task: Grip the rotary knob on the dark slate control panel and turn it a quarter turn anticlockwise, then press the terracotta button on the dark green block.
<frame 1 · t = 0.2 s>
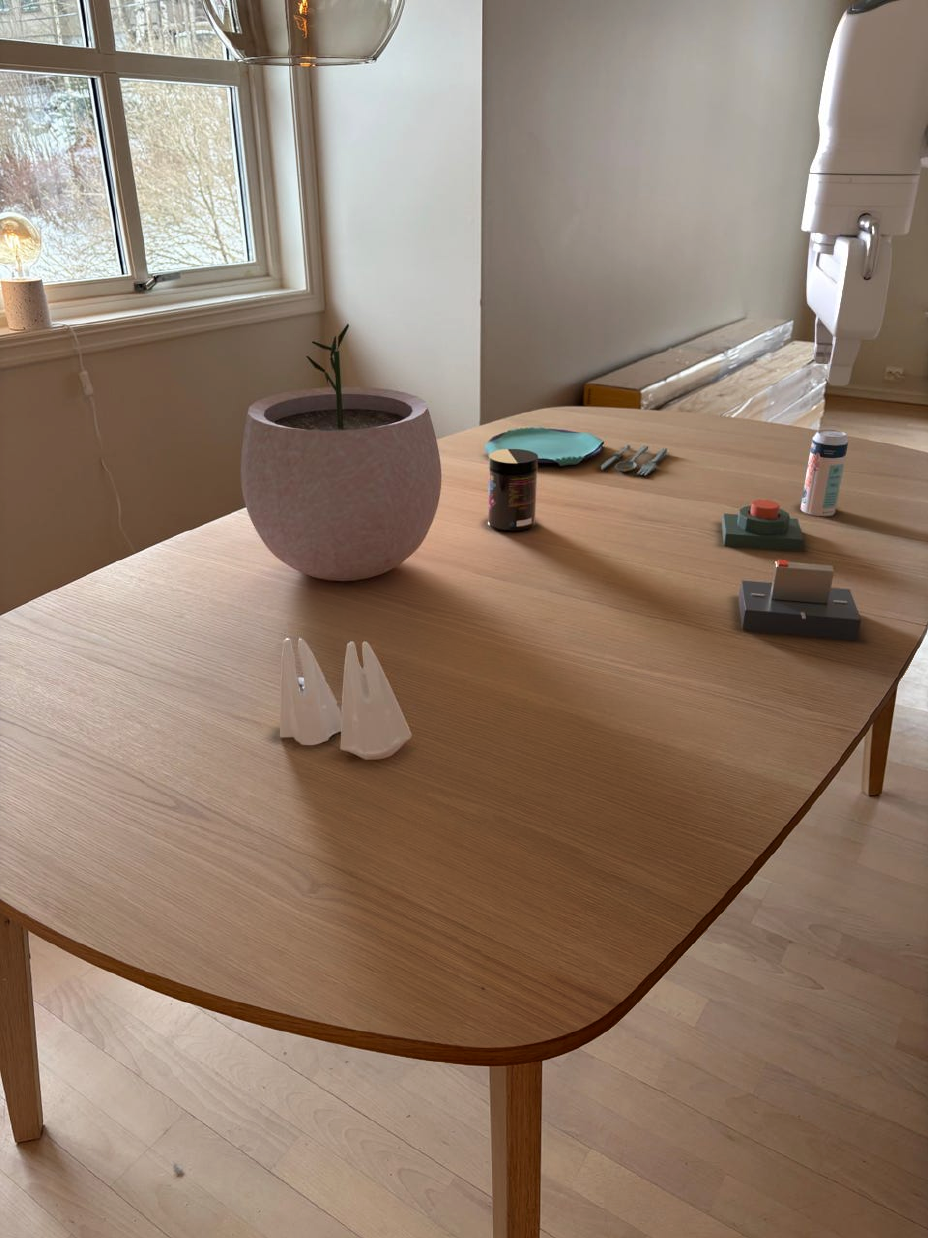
hand: (829, 372, 88), 29 cm above the table, tool pointing down, fingers open, 8 cm apart
beer can: (816, 514, 139), on the table
shaker set: (345, 748, 85), on the table
control panel: (794, 623, 107), on the table
supplement container: (511, 528, 134), on the table
button block: (760, 541, 130), on the table
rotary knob: (801, 581, 105), point 5 cm above the table, hinge at 0.0°
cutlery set: (571, 459, 164), on the table
plant pot: (347, 571, 121), on the table
button: (764, 510, 128), point 4 cm above the table, slide at 0.1 cm
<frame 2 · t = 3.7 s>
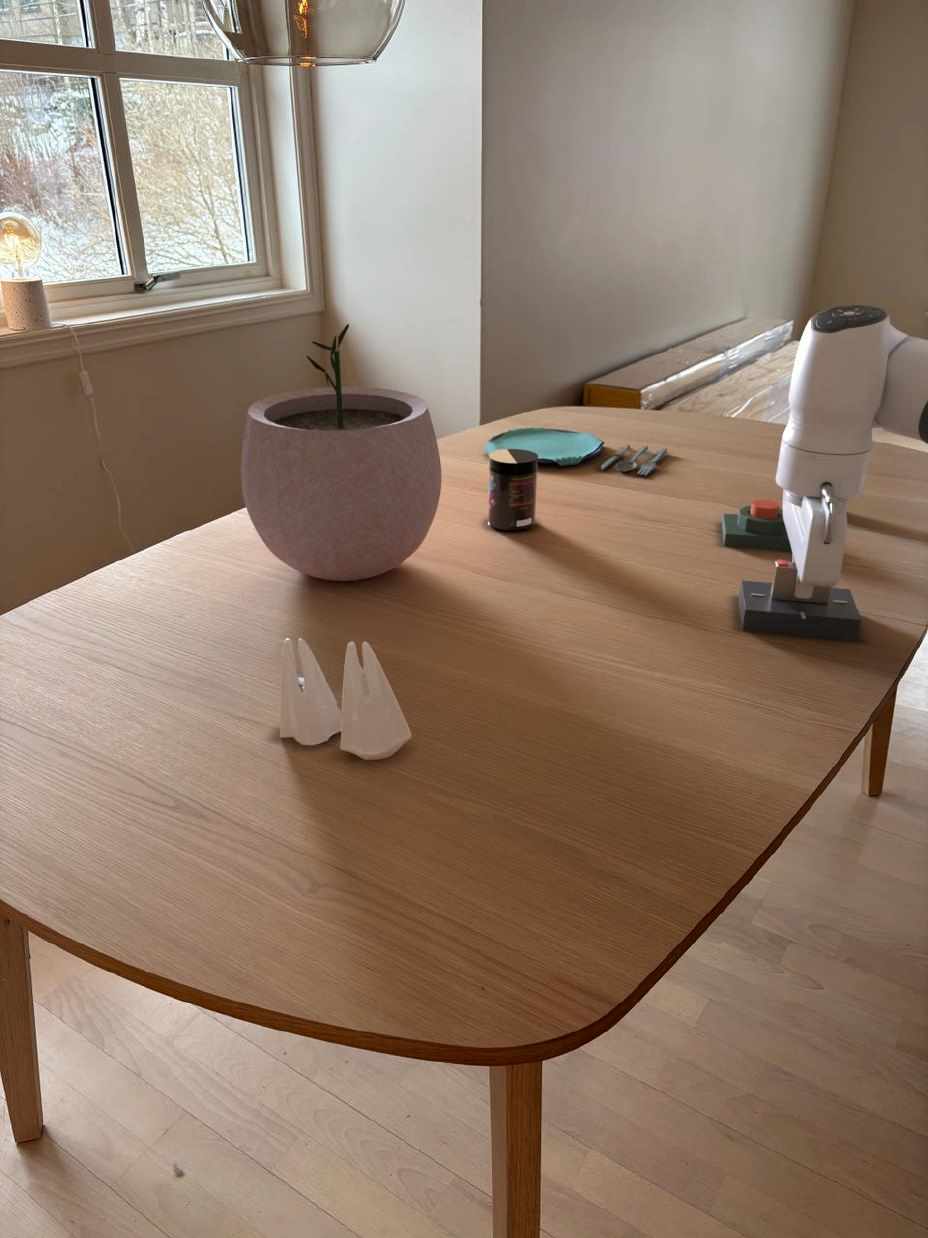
hand: (800, 590, 106), 4 cm above the table, tool pointing down, fingers closed on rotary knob, 2 cm apart
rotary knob: (801, 581, 105), point 5 cm above the table, hinge at -0.1°, touching gripper
everything else where it was.
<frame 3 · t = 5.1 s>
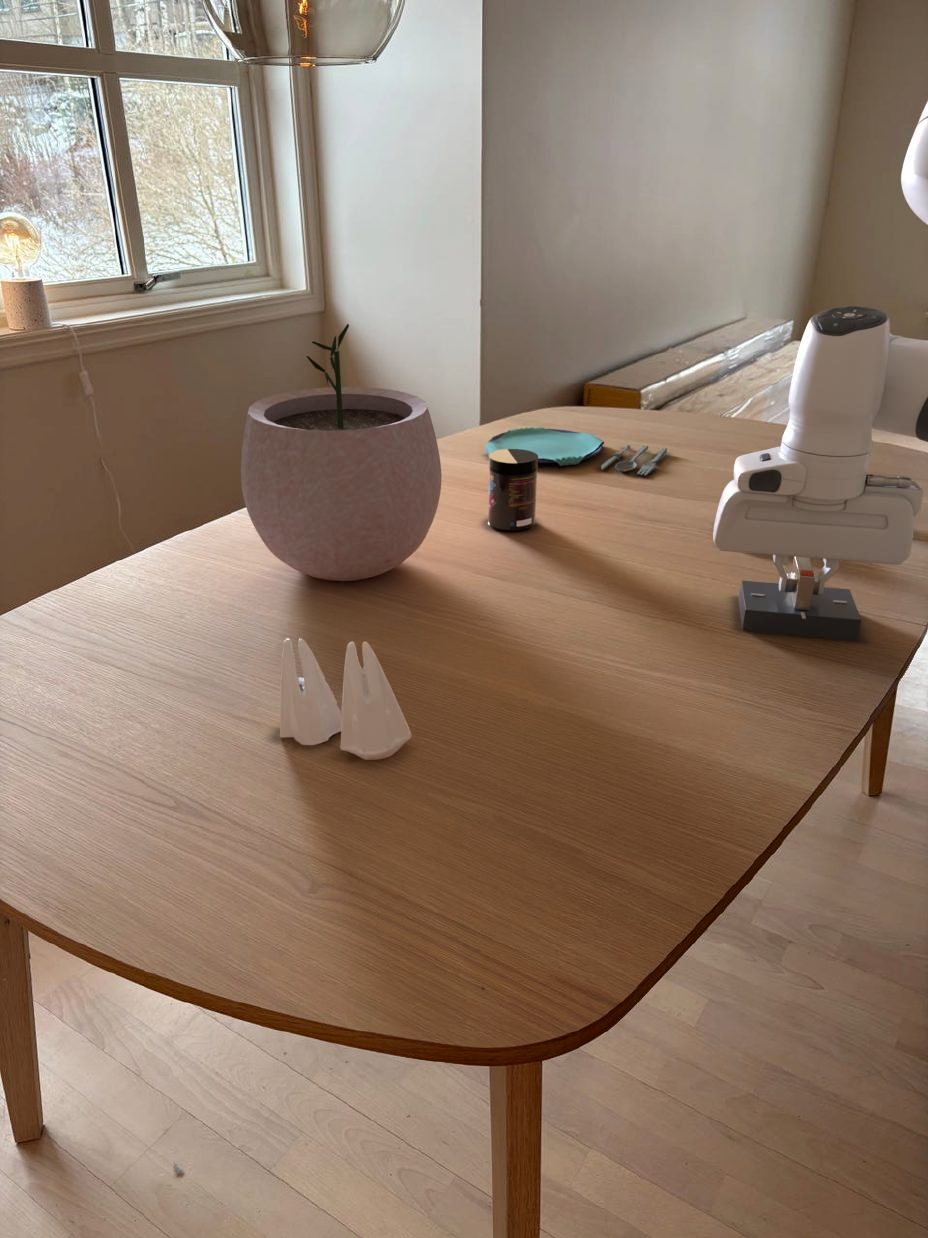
hand: (799, 591, 106), 4 cm above the table, tool pointing down, fingers closed on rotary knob, 2 cm apart
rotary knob: (801, 581, 105), point 5 cm above the table, hinge at 89.9°, touching gripper
everything else where it was.
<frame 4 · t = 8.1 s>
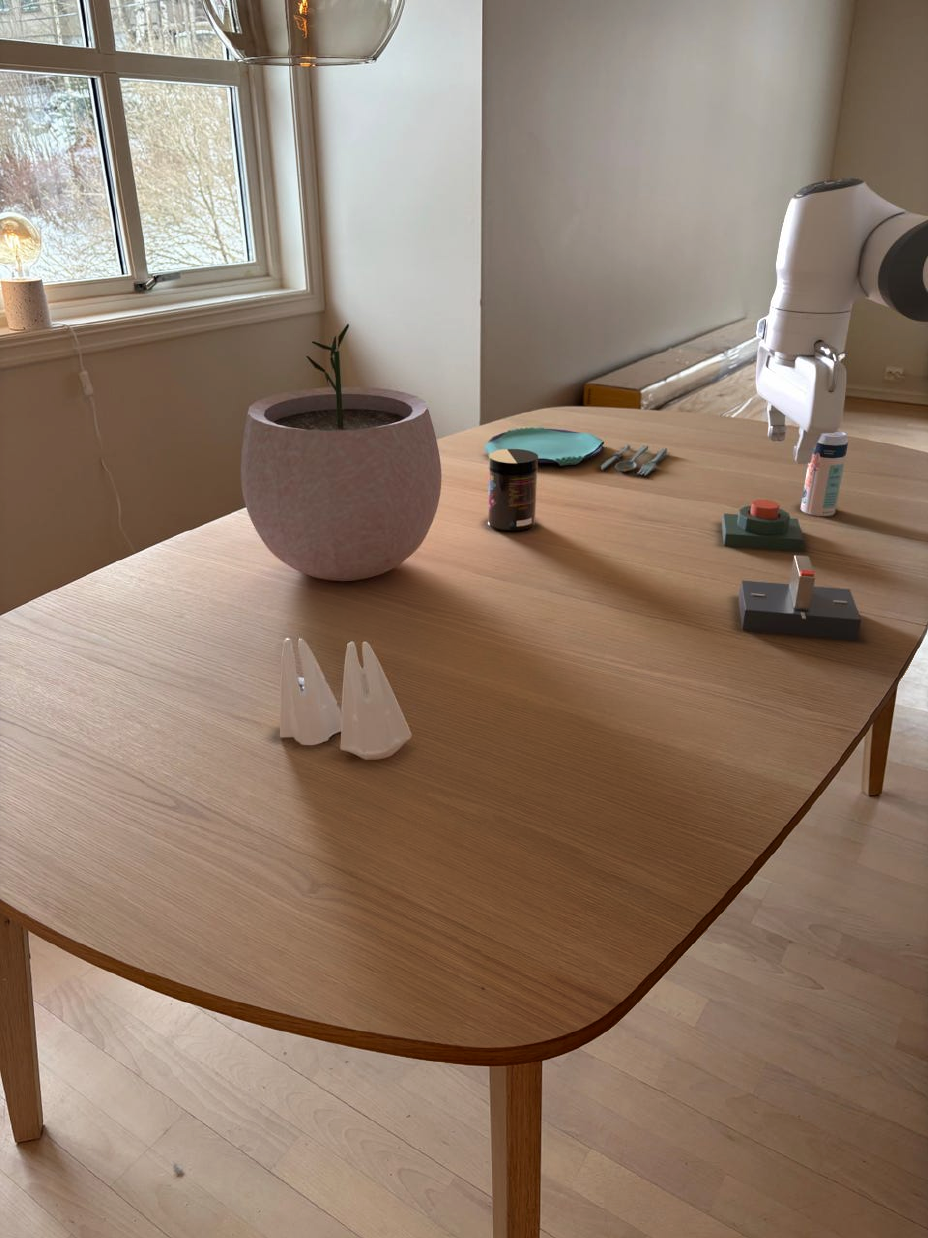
hand: (788, 450, 116), 15 cm above the table, tool pointing down, fingers open, 8 cm apart
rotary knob: (801, 581, 105), point 5 cm above the table, hinge at 89.9°
everything else where it was.
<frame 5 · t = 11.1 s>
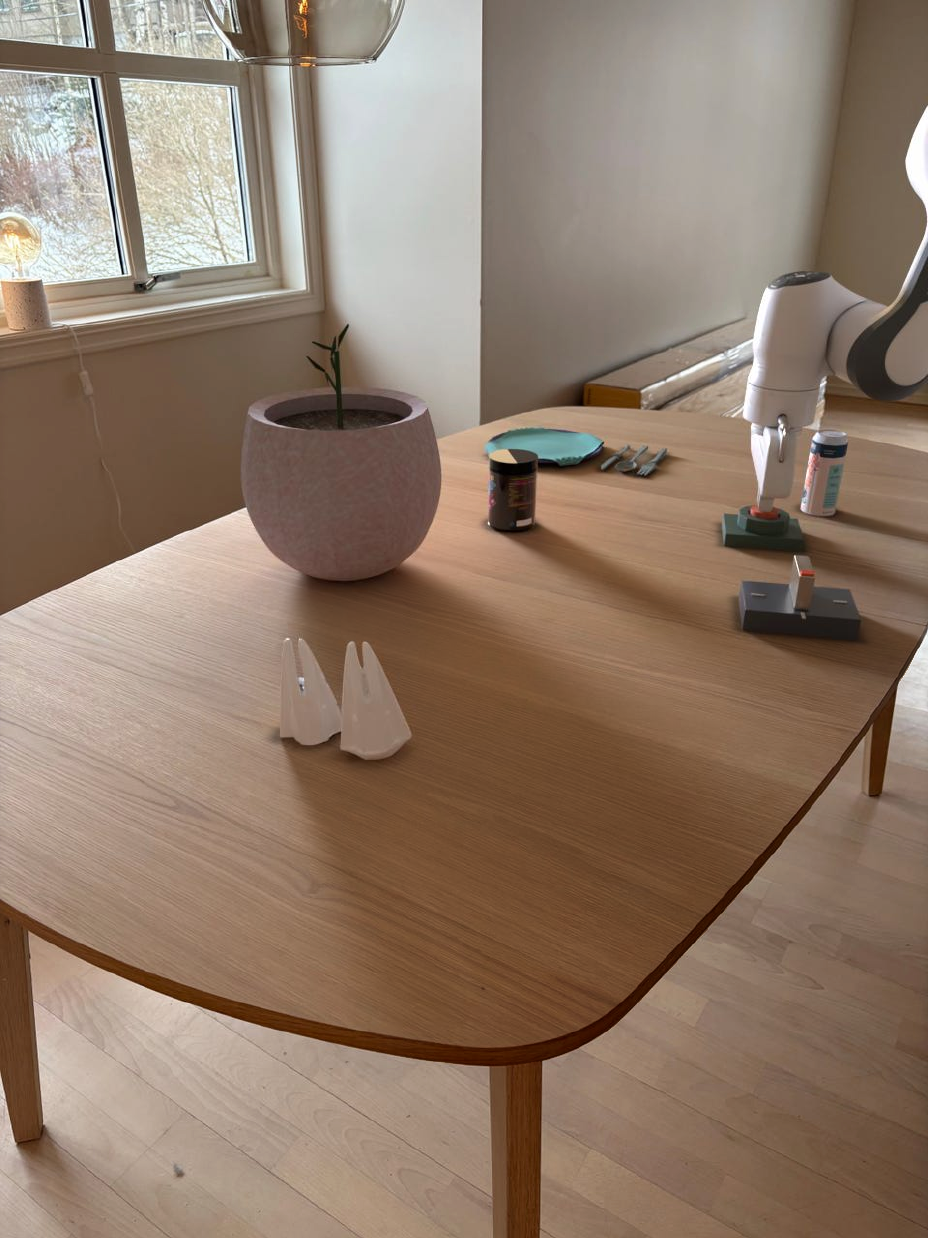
hand: (763, 508, 128), 5 cm above the table, tool pointing down, fingers closed, pressing on button
button: (764, 515, 128), point 4 cm above the table, slide at -0.7 cm, touching gripper
everything else where it was.
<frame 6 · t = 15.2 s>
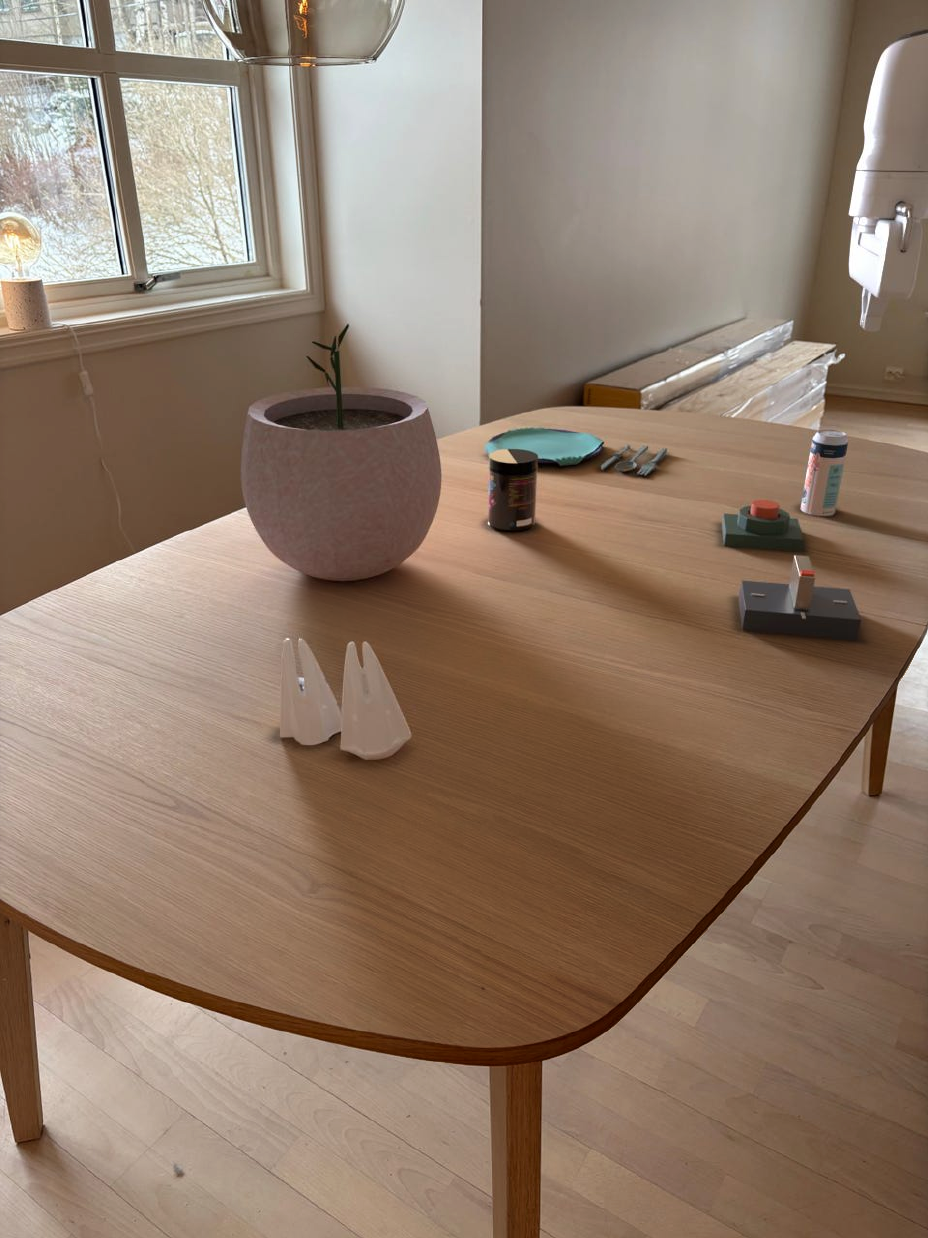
hand: (869, 329, 111), 29 cm above the table, tool pointing down, fingers closed
button: (764, 510, 128), point 4 cm above the table, slide at 0.1 cm
everything else where it was.
at the end: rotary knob at +90° (first picture: +0°); button pushed in 1.1 cm at the most during the clip, back to where it started at the end; button slide at 0.1 cm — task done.
